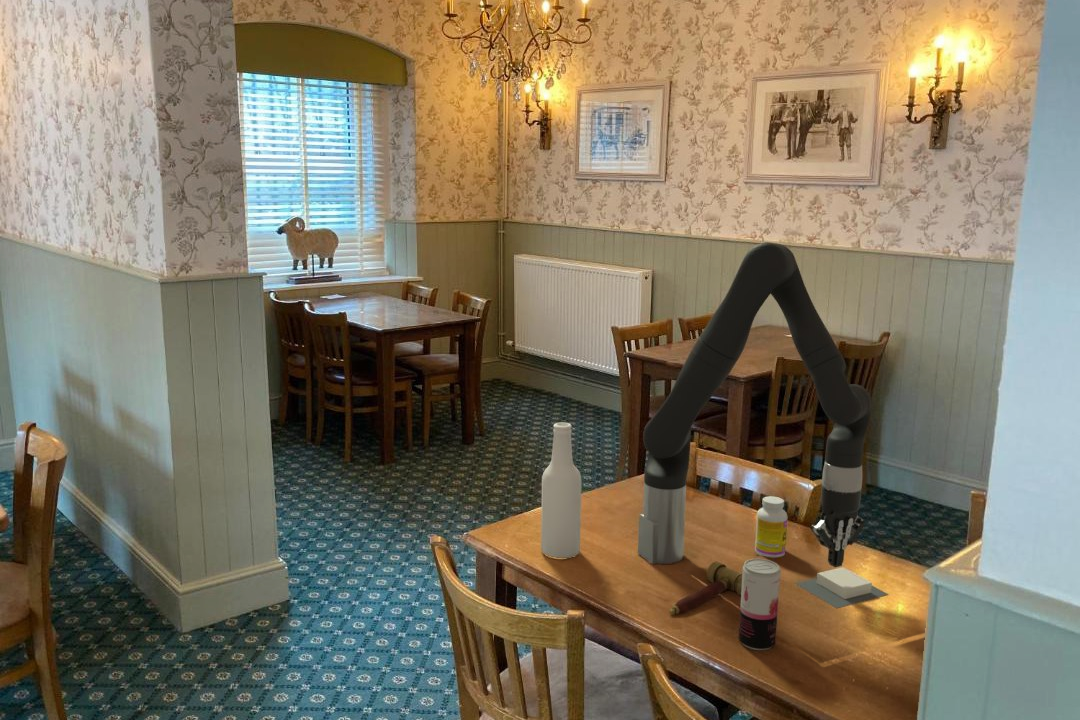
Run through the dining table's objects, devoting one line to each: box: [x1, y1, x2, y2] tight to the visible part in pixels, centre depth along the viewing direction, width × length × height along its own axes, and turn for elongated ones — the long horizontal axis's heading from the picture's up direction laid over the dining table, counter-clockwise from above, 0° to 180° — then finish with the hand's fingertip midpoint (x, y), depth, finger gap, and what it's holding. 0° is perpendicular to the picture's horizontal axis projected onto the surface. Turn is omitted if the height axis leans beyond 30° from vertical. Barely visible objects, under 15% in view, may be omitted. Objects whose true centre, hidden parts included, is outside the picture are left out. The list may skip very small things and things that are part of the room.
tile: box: [816, 566, 873, 599], centre depth 183 cm, size 2×8×7 cm
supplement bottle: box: [754, 495, 788, 558], centre depth 199 cm, size 7×7×13 cm
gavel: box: [669, 561, 743, 615], centre depth 178 cm, size 21×5×10 cm
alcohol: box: [540, 421, 582, 558], centre depth 197 cm, size 9×9×30 cm
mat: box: [794, 577, 890, 609], centre depth 183 cm, size 14×12×1 cm
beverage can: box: [738, 558, 781, 651], centre depth 161 cm, size 7×7×15 cm
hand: (835, 565), depth 180 cm, fingers closed
